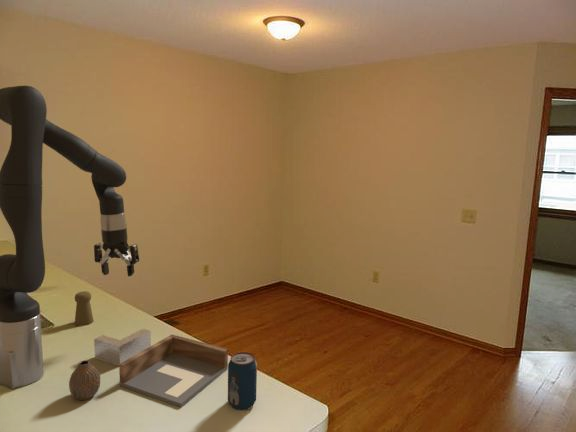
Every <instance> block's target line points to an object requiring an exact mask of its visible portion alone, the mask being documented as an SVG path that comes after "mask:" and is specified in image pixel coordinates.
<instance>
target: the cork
mask: <svg viewBox="0 0 576 432" xmlns="http://www.w3.org/2000/svg"><path fill="white" fill-rule="evenodd" d="M91 300H92V293H91V292H90V291H87V290H86V291H80V292H77V293H76V294H75V295H74V301H75V303H76V305H75V315H74V325H75V326H77V327H84V326H88V325H91V324H93V323H94V322H95V321H94V317H93V316H94V315H93V311H92V306H91Z"/></svg>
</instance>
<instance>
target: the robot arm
mask: <svg viewBox="0 0 576 432" xmlns="http://www.w3.org/2000/svg"><path fill="white" fill-rule="evenodd" d="M47 111H48V110H47V103H46V100H45V98H44V96H43V94H42V93H41V92H40V91H39V90H38V89H37V88H35V87H33V86H31V85H16V86H14V85H13V86H7V87H3V88H0V120H1V121H2V122H4V123H6V125H10V126H11V127H10V128H11V129H10V130H11V133H10V134H11V138H10V139H11V141H10V144H9V148H8V151H7V154H6V156H5V157H4V160H3V162H2V165H1V167H0V211H1V213H2V215H3V217H4V219H5V221H6V222H7V224H8V226H9V228H10V230H11V232H12V234H13V238H14V242H15V254H14V253H13V254H12V253H11V254H10V253H9V254H8V253H7V254H2V255H0V385H3V386H5V387H7V388H9V389H13V390H14V389H17V388H19V387H23V386H27V385H29V384H32V383H35V382H37V381H38V380H40V379H41V378H42V377H43V376H44V374H45V373H44V372H45V371H44V370H45V369H44V358H43V357H44V356H43V340H42V325H41V324H42V321H41V307H40V304H39V302H38V300H36V299H34V298H33V297H31V296H30V295H29V293H34V292H36V291H37V290H38V289H39V288H40V287H41V286H42V284H43V282H44V280H45V275H46V261H45V252H44V242H43V225H42V224H43V221H42V216H43V215H42V211H43V210H42V205H43V149H44V148H43V147H44V145H45V146H47V147H49V148H50V149H52V150H54V151H55V152H56V153H58V154H59V155H61V156H62V157H64V158H65V159H67V160H68V161H69V163H72V164H73V165H74V166H76V168H79V169H80V170H81V171H83V172H86V173H90V174H91V176H90V177H91V183H92V186H93V188H94V192H95V194H96V197H97V199H98V203H99V205H98V206H99V213H100V216H99V217H100V219H99V221H100V222H99V223H100V232H101V233H100V234H101V241H102V243H101V242H98V243H96V244H94V245H93V255H94V262H95V263H99V264H100V266H101V273H102V274H103V276H107V275H109V274H110V269H109V267H110V266H109V262H108V261H109V260H110V258H111V259H114V258H115V259H121V260H122V261H123V262H125V264H126V271H127V272H126V274H127V277H131V276H133V275H134V273H135V264H137V263H139V261H140V254H139V248H138V244H136V243H134V244H130V245H129V242H128V230H127V229H128V228H127V227H128V226H127V219H126V215H125V206H124V205H125V204H124V198H123V196H122V195H121V194H119V193H117V192H116V190H115V188H119V187H122V186H123V185H124V184H125V183H126V181H127V173H126V171H125V169H124V168H123V166H122V165H120V164H119V163H118V162H116V161H114V160H112V159H111V158H109V157H107V156H105V155H103V154H102V153H100V152H98V151H97V150H96V149H95V148H94V147H92V146H91V145H90V144H89V143H88V142H86V141H85V140H84V139H82V138H80V137H79V136H77V135H75V134H74V133H72V132H70V131H67V130H66V129H64V128H61V127H60V126H58V125H56V124H54V123H53V122H52V121H50V120H48V119H47V114H48V113H47ZM103 251H104V254H103Z"/></svg>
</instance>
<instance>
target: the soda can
mask: <svg viewBox="0 0 576 432" xmlns="http://www.w3.org/2000/svg"><path fill="white" fill-rule="evenodd" d="M257 369H258V363H257V361H256V358H255V356H254V354H252V353H251V352H248V351H247V352H246V351H239V352H236V353H233V354H232V355H231V356H230V360H229V362H228V369H227V402H228V404H229V406H230V408H232V409H234V411H239V412H241V411H247V410H249V409H251V408H252V407H253V406H254V404H255V403H256V401H257V378H258V377H257V375H258V374H257V373H258V370H257Z"/></svg>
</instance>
